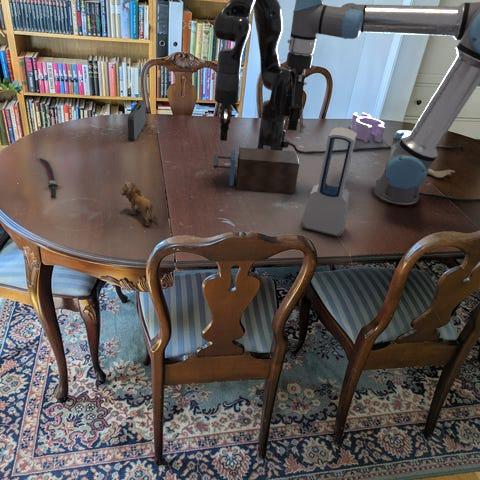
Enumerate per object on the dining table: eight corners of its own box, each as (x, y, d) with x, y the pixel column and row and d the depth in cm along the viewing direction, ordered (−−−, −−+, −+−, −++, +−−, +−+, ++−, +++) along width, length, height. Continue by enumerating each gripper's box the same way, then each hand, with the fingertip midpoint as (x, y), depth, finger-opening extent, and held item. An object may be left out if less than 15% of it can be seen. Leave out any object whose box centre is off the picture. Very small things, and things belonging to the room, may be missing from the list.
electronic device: (344, 227, 141) (368, 132, 125) (340, 239, 135) (365, 141, 119) (304, 217, 144) (322, 123, 128) (299, 229, 138) (317, 131, 122)
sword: (61, 197, 141) (61, 193, 140) (50, 198, 139) (50, 194, 139) (49, 160, 164) (48, 156, 163) (39, 160, 163) (39, 157, 162)
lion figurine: (118, 210, 138) (116, 182, 133) (132, 204, 141) (131, 177, 137) (151, 229, 130) (150, 201, 126) (165, 223, 134) (165, 195, 129)
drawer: (212, 184, 156) (213, 159, 151) (212, 173, 164) (214, 148, 159) (283, 189, 158) (287, 164, 153) (281, 178, 165) (285, 154, 160)
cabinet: (236, 189, 157) (239, 158, 151) (236, 176, 165) (239, 147, 159) (294, 193, 158) (299, 163, 152) (291, 180, 166) (295, 151, 160)
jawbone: (446, 183, 178) (448, 178, 177) (396, 166, 188) (397, 162, 187) (454, 175, 183) (456, 170, 182) (405, 159, 194) (406, 154, 193)
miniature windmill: (301, 132, 210) (312, 62, 194) (282, 129, 211) (292, 60, 195) (302, 125, 218) (314, 58, 201) (285, 123, 219) (294, 56, 202)
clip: (343, 126, 223) (346, 112, 219) (367, 127, 225) (371, 113, 221) (360, 142, 206) (364, 127, 202) (386, 142, 209) (390, 127, 205)
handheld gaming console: (139, 121, 202) (139, 98, 197) (146, 122, 202) (145, 99, 197) (127, 140, 183) (126, 115, 178) (134, 141, 183) (133, 116, 178)
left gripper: (215, 79, 148) (212, 131, 158) (214, 91, 137) (211, 146, 147) (239, 81, 149) (234, 133, 158) (240, 93, 138) (235, 148, 147)
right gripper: (283, 43, 148) (274, 109, 160) (293, 61, 128) (281, 135, 139) (306, 45, 149) (296, 111, 160) (319, 63, 128) (306, 137, 140)
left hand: (223, 139), depth 152 cm, fingers closed
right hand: (289, 122), depth 150 cm, fingers open, 13 cm apart
